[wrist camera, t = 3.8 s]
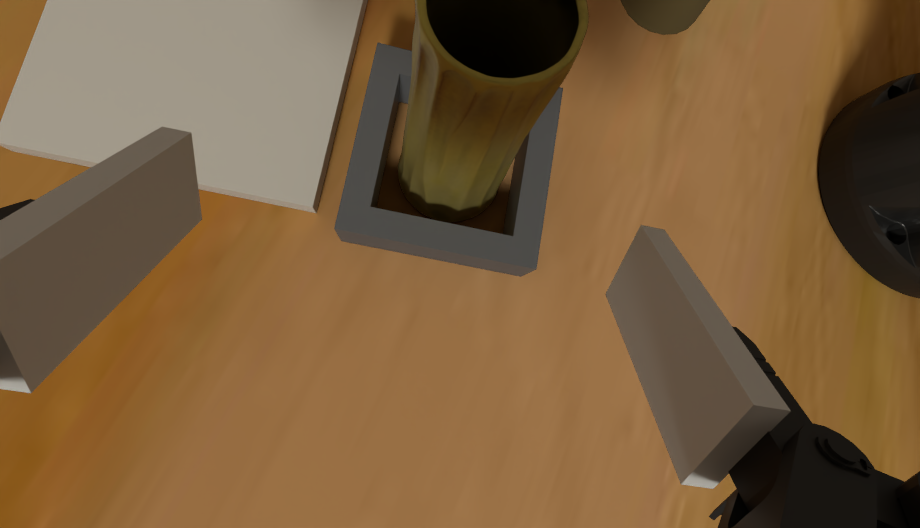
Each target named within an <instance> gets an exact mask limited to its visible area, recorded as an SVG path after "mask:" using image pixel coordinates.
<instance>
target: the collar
mask: <svg viewBox="0 0 920 528" xmlns="http://www.w3.org/2000/svg"><path fill="white" fill-rule="evenodd" d="M411 74H412V51H410V50H406V49H402V48H398V47H393V46H389V45H385V44H381V43H377V47H376V52H375V56H374V60H373V64H372V69H371V73H370V77H369V82H368V86H367V90H366V95H365V99H364V103H363V107H362V112H361V116H360V120H359V125H358V129H357V133H356V138H355V142H354V146H353V150H352V155H351V159H350V163H349V168H348V172H347V176H346V181H345V185H344V189H343V194H342V198H341V202H340V206H339V211H338V215H337V219H336V224H335V228H334V229H335V231H336V232H337V234H338V236H339V238H340V239H341V241H344V242H349V243H354V244H359V245H364V246H369V247H374V248H380V249H385V250H390V251H395V252H400V253H405V254H410V255H415V256H420V257H425V258H430V259H435V260H440V261H445V262H450V263H455V264H460V265H465V266H470V267H475V268H480V269H486V270H491V271H496V272H501V273H506V274H511V275H516V276H523V275H525V274H527V273H530V272H532V271H534V270H536V268H537V261H538V255H539V248H540V241H541V234H542V228H543V221H544V214H545V207H546V200H547V194H548V187H549V180H550V173H551V166H552V160H553V153H554V146H555V139H556V133H557V126H558V119H559V112H560V105H561V99H562V92H563V88H560V87H559V88H558V90H557V91H556V93H555V94H554V96H553V97H552V99H551V100H550V102H549V103H548V105H547V106H546V108H545V109H544V110H543V112H542V113H541V115H540V117H539V118H538V120H537V121H536V123H535V124H534V126H533V127H532V129H531V130H530V132H529V133H528V135H527V136H526V137H525V139H524V140H523V142H522V144H521V146H520V148H519V150H518V152H517V154H516V156H515V162H514V168H513V174H512V180H511V186H510V193H509V199H508V205H507V211H506V217H505V223H504V229H503V234H500V233H495V232H490V231H485V230H480V229H476V228H471V227H466V226H461V225H456V224H451V223H447V222H442V221H437V220H432V219H427V218H423V217H418V216H413V215H408V214H403V213H398V212H394V211H389V210H384V209H379V208H376V206H377V201H378V197H379V192H380V188H381V183H382V178H383V174H384V169H385V165H386V160H387V155H388V151H389V146H390V142H391V137H392V132H393V128H394V123H395V119H396V114H397V109H398V105H399V102H402V103H407V104H408V99H409V92H410V85H411Z"/></svg>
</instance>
